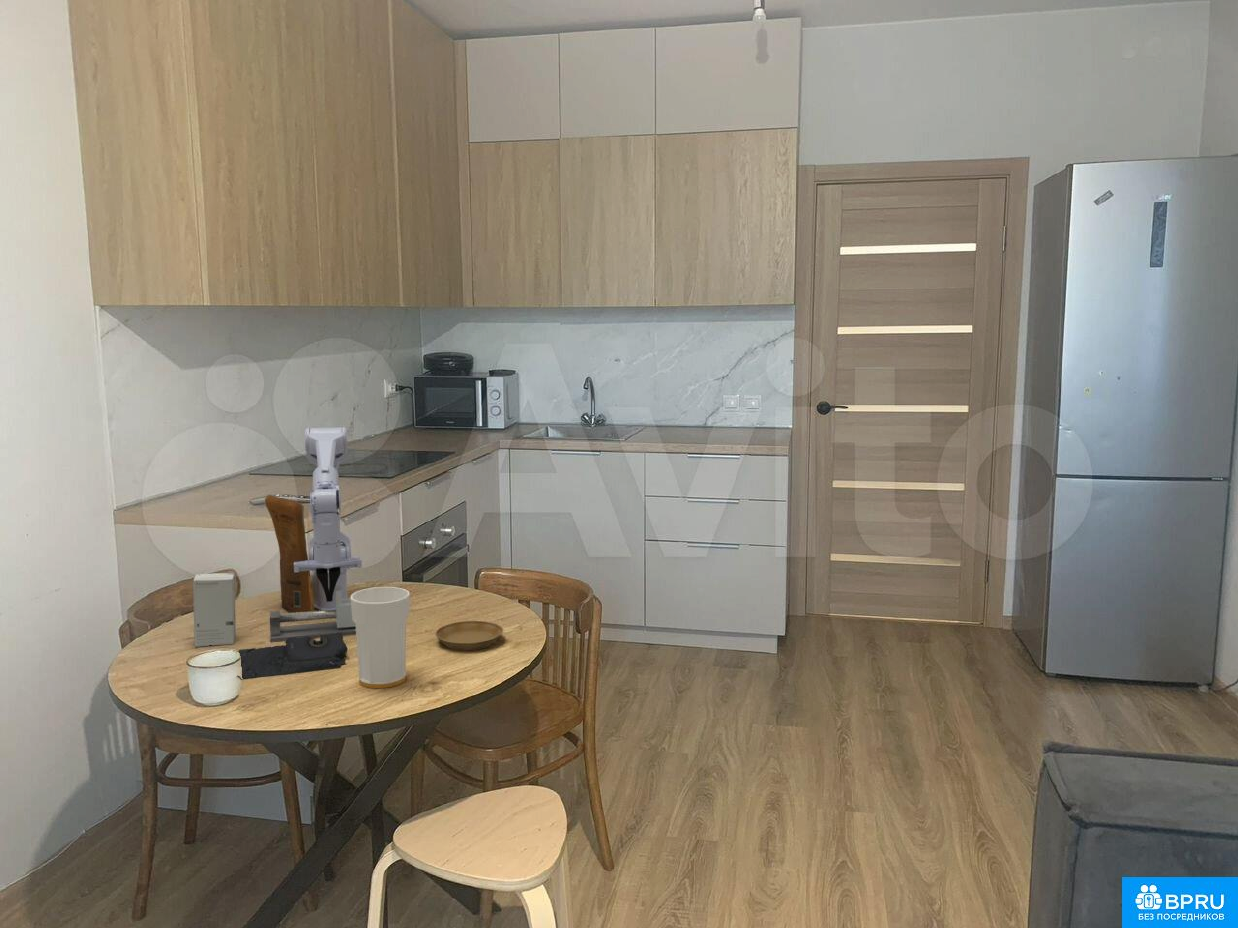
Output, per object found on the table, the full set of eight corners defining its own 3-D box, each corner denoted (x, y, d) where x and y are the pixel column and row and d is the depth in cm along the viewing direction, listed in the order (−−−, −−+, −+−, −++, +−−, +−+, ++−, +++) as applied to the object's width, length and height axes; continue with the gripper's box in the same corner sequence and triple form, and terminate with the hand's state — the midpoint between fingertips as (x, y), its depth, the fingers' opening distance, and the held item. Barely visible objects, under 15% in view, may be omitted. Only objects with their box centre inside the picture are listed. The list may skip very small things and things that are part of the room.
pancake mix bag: (294, 622, 223) (289, 504, 219) (268, 602, 238) (262, 492, 233) (322, 617, 227) (318, 501, 223) (294, 598, 242) (290, 489, 238)
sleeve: (337, 628, 215) (335, 591, 214) (336, 621, 220) (334, 585, 219) (355, 626, 216) (354, 590, 215) (354, 619, 221) (353, 584, 220)
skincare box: (194, 647, 206) (190, 580, 204) (197, 638, 212) (193, 573, 209) (236, 644, 208) (232, 577, 206) (238, 635, 214) (234, 570, 212)
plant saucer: (472, 659, 202) (472, 647, 201) (421, 645, 209) (421, 634, 209) (516, 639, 214) (516, 628, 213) (466, 627, 222) (466, 616, 221)
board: (270, 642, 210) (270, 638, 210) (271, 630, 217) (271, 626, 217) (391, 631, 218) (391, 627, 218) (388, 620, 225) (388, 616, 225)
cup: (388, 664, 197) (386, 583, 194) (423, 678, 190) (422, 593, 187) (341, 680, 188) (338, 595, 186) (376, 695, 181) (374, 606, 179)
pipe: (270, 639, 211) (269, 617, 210) (271, 632, 216) (270, 611, 215) (391, 628, 219) (390, 607, 218) (389, 622, 224) (388, 601, 223)
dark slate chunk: (234, 657, 202) (233, 636, 201) (342, 645, 210) (341, 624, 209) (235, 684, 188) (233, 660, 187) (350, 669, 196) (350, 647, 195)
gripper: (292, 548, 208) (295, 608, 210) (361, 543, 213) (363, 602, 215) (293, 540, 215) (295, 599, 217) (359, 536, 219) (361, 593, 221)
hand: (329, 600), depth 216 cm, fingers closed
